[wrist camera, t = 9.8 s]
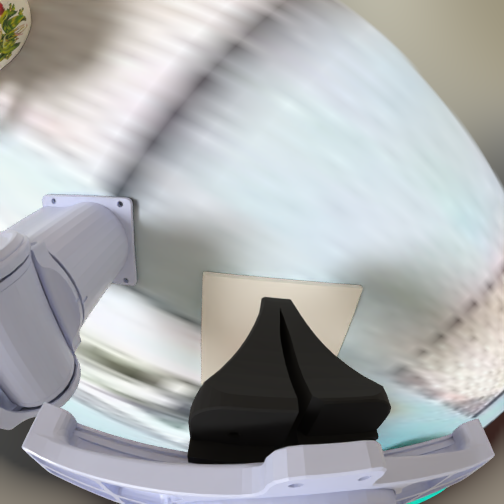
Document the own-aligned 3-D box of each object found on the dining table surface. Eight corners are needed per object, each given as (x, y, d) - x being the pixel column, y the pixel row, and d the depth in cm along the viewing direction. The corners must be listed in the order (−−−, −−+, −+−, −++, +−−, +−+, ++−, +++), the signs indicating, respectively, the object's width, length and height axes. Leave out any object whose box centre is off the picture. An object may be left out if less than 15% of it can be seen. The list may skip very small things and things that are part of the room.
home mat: (202, 396, 32) (201, 400, 31) (203, 271, 24) (202, 274, 23) (313, 402, 33) (313, 405, 32) (360, 285, 25) (362, 288, 24)
